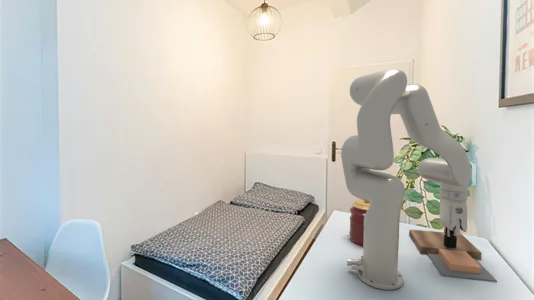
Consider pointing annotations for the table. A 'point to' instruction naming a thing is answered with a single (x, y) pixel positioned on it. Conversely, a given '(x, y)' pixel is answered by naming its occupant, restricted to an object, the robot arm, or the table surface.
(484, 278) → the mat
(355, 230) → the canister
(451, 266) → the tile
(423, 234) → the brown wooden board
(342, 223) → the table surface
